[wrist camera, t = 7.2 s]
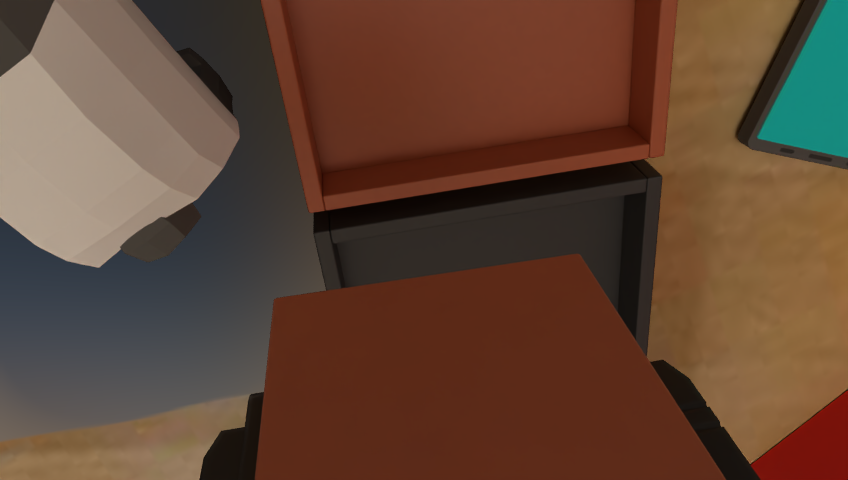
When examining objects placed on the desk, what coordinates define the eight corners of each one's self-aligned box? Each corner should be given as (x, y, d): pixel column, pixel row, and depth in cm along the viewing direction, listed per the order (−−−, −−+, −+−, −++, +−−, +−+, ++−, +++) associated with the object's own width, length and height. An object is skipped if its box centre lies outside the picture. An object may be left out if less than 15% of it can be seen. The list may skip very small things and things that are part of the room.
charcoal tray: (370, 458, 34) (374, 503, 32) (313, 198, 26) (313, 233, 24) (616, 412, 35) (638, 453, 32) (632, 147, 27) (663, 175, 25)
